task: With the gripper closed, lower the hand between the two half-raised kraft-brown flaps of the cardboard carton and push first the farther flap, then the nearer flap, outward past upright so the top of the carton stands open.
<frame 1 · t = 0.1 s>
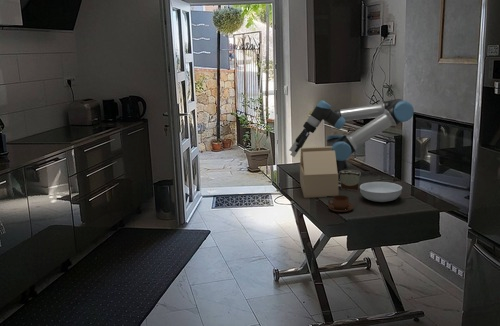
hand: (291, 153, 289), 15 cm above the table, tool tilted 35°, fingers open, 13 cm apart
flap 2: (319, 162, 253), point 18 cm above the table, hinge at 50.0°
carton: (318, 189, 266), on the table
food container: (350, 188, 265), on the table
serving bowl: (380, 200, 244), on the table
cup and saucer: (341, 210, 232), on the table
flap 1: (315, 155, 272), point 18 cm above the table, hinge at 50.0°
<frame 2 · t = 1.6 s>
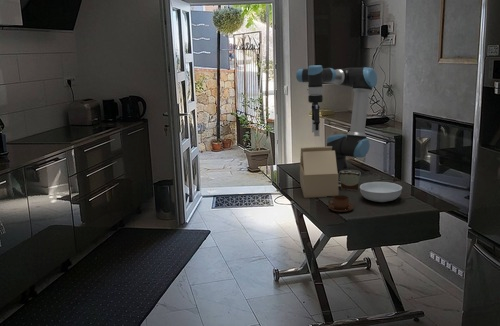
hand: (315, 134, 260), 31 cm above the table, tool pointing down, fingers open, 13 cm apart
nothing on the table moved.
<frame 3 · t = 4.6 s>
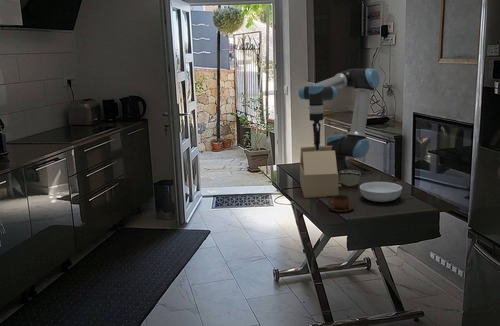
hand: (317, 155, 265), 19 cm above the table, tool pointing down, fingers closed
flap 1: (315, 154, 272), point 18 cm above the table, hinge at 51.9°, touching gripper
everything else where it was.
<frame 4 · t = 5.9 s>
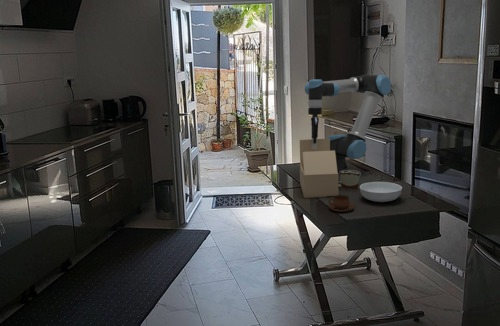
hand: (314, 149, 272), 21 cm above the table, tool pointing down, fingers closed
flap 1: (314, 150, 276), point 19 cm above the table, hinge at 90.3°, touching gripper
everything else where it was.
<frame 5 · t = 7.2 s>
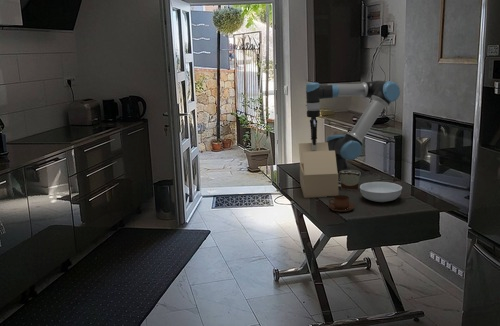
hand: (314, 150, 281), 18 cm above the table, tool pointing down, fingers closed
flap 1: (314, 152, 281), point 17 cm above the table, hinge at 134.1°, touching gripper
everything else where it was.
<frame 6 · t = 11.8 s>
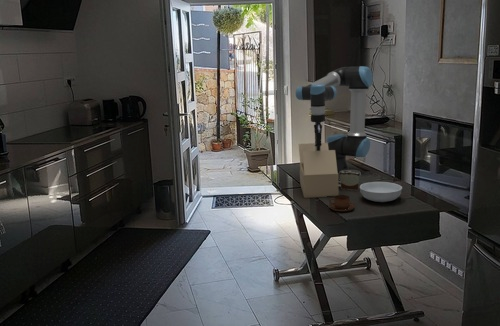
hand: (318, 157, 258), 19 cm above the table, tool pointing down, fingers closed
flap 2: (319, 162, 252), point 18 cm above the table, hinge at 52.7°, touching gripper
flap 1: (314, 153, 281), point 17 cm above the table, hinge at 136.0°
everything else where it was.
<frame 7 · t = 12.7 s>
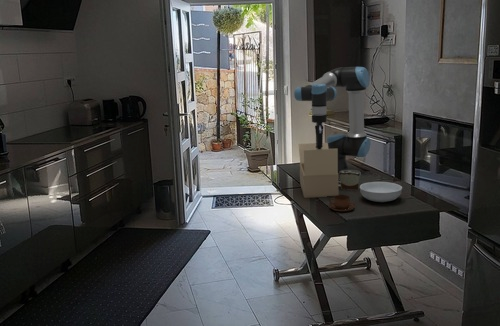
hand: (319, 159, 250), 20 cm above the table, tool pointing down, fingers closed
flap 2: (320, 162, 248), point 19 cm above the table, hinge at 91.2°, touching gripper
everything else where it was.
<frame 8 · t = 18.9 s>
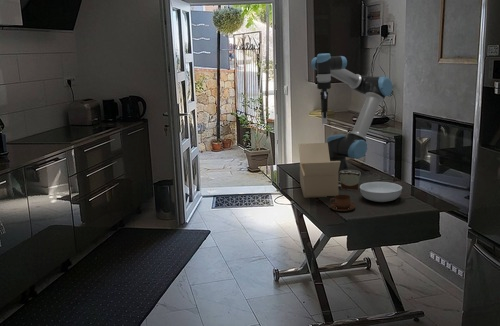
hand: (324, 123, 274), 34 cm above the table, tool pointing down, fingers closed
flap 2: (321, 168, 244), point 17 cm above the table, hinge at 136.4°
at the end: flap 1 at +136° (first picture: +50°); flap 2 at +136° (first picture: +50°) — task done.
